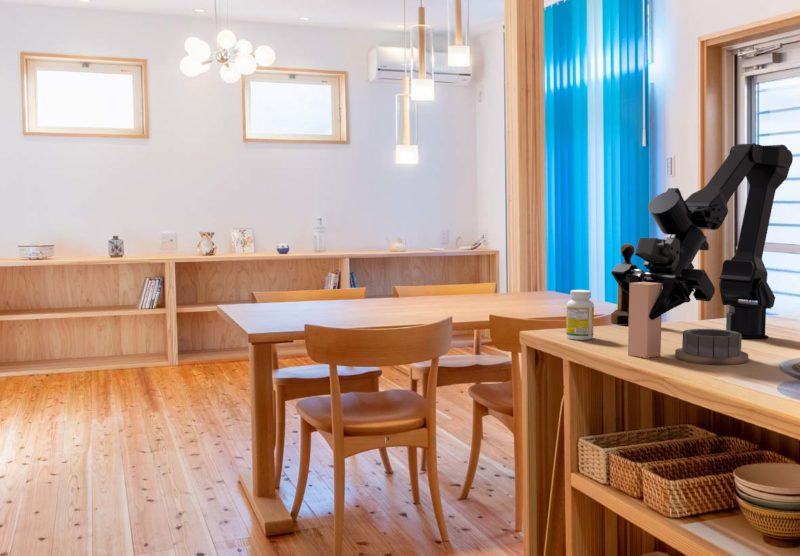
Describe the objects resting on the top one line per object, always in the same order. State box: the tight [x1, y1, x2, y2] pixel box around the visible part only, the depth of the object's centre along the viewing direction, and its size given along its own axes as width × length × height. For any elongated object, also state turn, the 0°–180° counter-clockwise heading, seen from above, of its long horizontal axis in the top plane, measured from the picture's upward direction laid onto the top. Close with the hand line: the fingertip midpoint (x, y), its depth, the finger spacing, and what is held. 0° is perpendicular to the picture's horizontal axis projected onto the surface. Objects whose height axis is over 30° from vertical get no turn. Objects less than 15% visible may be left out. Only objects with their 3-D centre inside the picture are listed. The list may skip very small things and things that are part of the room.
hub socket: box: [674, 328, 749, 366], centre depth 146 cm, size 12×12×4 cm
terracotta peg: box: [627, 282, 663, 359], centre depth 148 cm, size 4×4×13 cm
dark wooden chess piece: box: [610, 243, 636, 326], centre depth 187 cm, size 7×6×18 cm
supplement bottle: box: [566, 289, 595, 341], centre depth 168 cm, size 5×5×10 cm
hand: (640, 316), depth 147 cm, fingers closed on terracotta peg, 4 cm apart
